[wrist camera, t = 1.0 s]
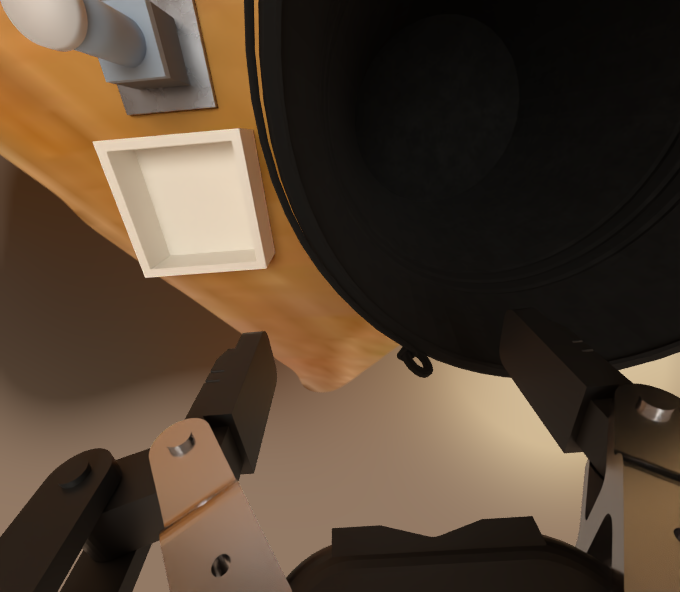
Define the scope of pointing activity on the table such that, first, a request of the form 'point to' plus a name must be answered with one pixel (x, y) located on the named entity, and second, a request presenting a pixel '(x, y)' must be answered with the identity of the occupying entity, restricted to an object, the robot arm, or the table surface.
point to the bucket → (481, 165)
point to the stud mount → (200, 91)
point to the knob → (108, 37)
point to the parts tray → (191, 201)
